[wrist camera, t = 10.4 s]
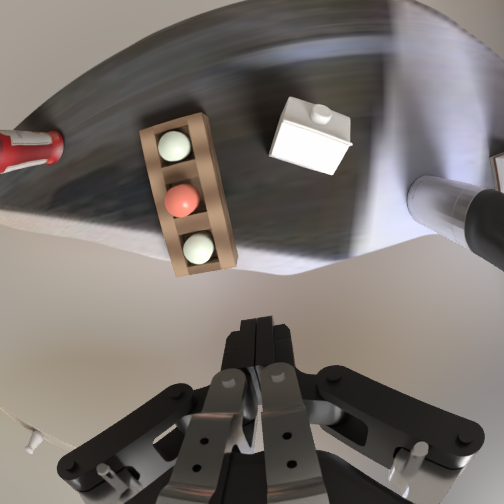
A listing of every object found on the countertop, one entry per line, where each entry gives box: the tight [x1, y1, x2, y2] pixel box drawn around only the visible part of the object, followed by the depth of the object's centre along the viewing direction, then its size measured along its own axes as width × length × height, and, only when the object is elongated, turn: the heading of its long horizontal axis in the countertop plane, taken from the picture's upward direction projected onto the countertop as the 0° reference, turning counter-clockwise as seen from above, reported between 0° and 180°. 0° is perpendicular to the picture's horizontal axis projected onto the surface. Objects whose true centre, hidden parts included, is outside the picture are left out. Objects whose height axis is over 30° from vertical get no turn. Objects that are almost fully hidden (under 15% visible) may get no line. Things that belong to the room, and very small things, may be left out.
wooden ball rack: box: [139, 112, 238, 277], centre depth 44 cm, size 24×10×5 cm, turn 11°
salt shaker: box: [25, 430, 43, 454], centre depth 74 cm, size 6×6×13 cm
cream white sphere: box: [183, 231, 215, 264], centre depth 45 cm, size 4×4×4 cm
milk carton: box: [269, 97, 353, 175], centre depth 34 cm, size 7×7×19 cm
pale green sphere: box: [158, 131, 193, 161], centre depth 40 cm, size 4×4×4 cm
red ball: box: [165, 183, 200, 217], centre depth 40 cm, size 4×4×4 cm
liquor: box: [0, 130, 64, 174], centre depth 30 cm, size 7×7×28 cm
